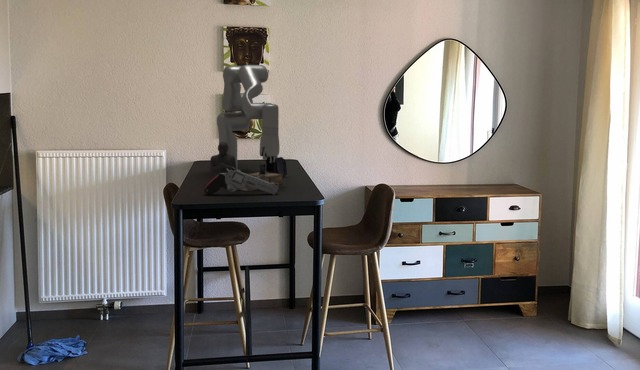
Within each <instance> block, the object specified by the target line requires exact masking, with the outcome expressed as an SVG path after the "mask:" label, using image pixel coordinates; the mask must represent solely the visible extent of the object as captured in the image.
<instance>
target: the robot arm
mask: <svg viewBox="0 0 640 370" xmlns="http://www.w3.org/2000/svg"><path fill="white" fill-rule="evenodd" d="M222 77H223V78H222V79H223V93H222V101H221V106H222V109H223V111H226V112H222V113H219V114H218V115H217V117H216V124H217V131H218V144H219V143H220V142H226V143H227V145H228V151H227V154H228V155H232V156H234V157H235V161H236V169H237V170H238V171H241V169H238V138H237V135H235V133H234V132H233V131H236V132H237V131H246V130H248V129H249V128H250V125H251V121H252V120H261V135H260V141H259V156H260V157H262V158H261V159H262V160H263V161H265V168H266V173H268V172H274V162H275V158H277V157H279V154H280V135H279V123H280V122H279V117H280V115H279V105H278V104H276V103H271V102H254V101H253V99H254V98H257V97H259V96H260V95H262V92H263V90H264V86H263V83H266V82H267V81H268V79H269V71H268V69H267V67H266V66H265V65H262V64H244V65H227V66H225V67H224V69H223V71H222ZM241 84H242V85H241ZM242 87H243V89H244V92H241V90H242Z"/></svg>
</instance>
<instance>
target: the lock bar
mask: <svg viewBox="0 0 640 370" xmlns="http://www.w3.org/2000/svg"><path fill="white" fill-rule="evenodd" d="M258 172H259V174H260V176H265V174H266V173H267V171H266V163H259V166H258Z"/></svg>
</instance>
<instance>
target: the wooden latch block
mask: <svg viewBox="0 0 640 370" xmlns="http://www.w3.org/2000/svg"><path fill="white" fill-rule="evenodd" d="M247 174H248V175H251V176H253V177H256V178H258V179H261V180H264V181H266V182H269V183H278V184H279V185H283V177H282V174H273V173H268V172H266V174H265V176H260V174H259V171H258V172H256V171H255V172H251V173H247ZM243 177H244V176H243ZM232 180H233V179H232ZM241 182H242V181H241ZM231 188H232V190H235V189H236V188H237V186H235V185H233V184H232V186H231ZM228 189H230V185H228ZM230 190H231V189H230ZM256 190H258V189H257V188H255V187H252V186H249V185H245V186H244V188H243V189H241V188H238V189H237V190H236V191H243V192H244V191H245V192H251V191H256Z"/></svg>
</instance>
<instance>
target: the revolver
mask: <svg viewBox="0 0 640 370" xmlns="http://www.w3.org/2000/svg"><path fill="white" fill-rule="evenodd" d="M226 170H227V171H228V173H219V174H218V175H217V176H216V177H215V176H214V177H213V179H211V180H210V181H209V182H208V183H207V185H206V186H205V188H204V189H203V191H204V194H205V195H208V196H213V195H214V194H216V193H217V192H218V191H220V190H221V188H224V189H225V190H227V191H228V192H231V193H234V192H236V191H238V190H237V189H238V188H241V189H243V188H244V186H245V185H249V186H252V187H255V188H257V190H260V191H263V192H266V193H268V194H271V195H274V196H275V195H277V193H278V192H279V188H280V184H278V183H269V182H266V181H264V180H261V179H258V178H256V177H253V176H251V175H248V174H249V173H245V172H242V171H241V170H240V171H238V170H239V169H238V170H237V169H235V168H233V167H232V169H231V170H230V171H229V170H228V169H226ZM234 174H235V175H234ZM233 176H234V177H233ZM243 176H244V177H243ZM232 179H233V180H232ZM241 181H242V182H241ZM232 184H233V185H235V186H237V188H236V189H232V188H231V186H232ZM228 185H230V189H228Z"/></svg>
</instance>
